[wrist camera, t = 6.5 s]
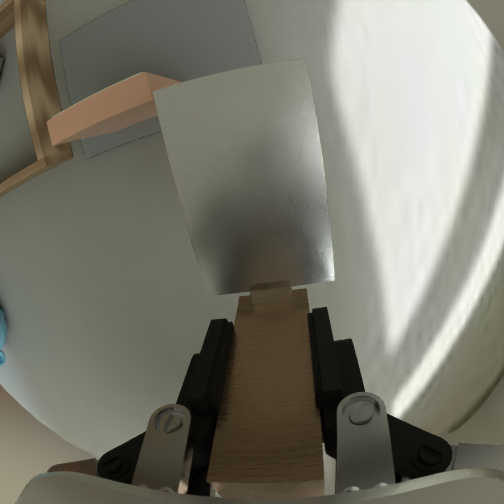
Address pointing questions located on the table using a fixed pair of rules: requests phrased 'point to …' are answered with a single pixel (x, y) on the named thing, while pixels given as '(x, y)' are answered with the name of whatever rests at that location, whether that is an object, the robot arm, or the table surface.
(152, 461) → the robot arm
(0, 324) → the decorative pot
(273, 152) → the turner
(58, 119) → the tile
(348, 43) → the table surface
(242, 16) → the mat
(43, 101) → the wooden frame
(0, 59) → the reed diffuser
